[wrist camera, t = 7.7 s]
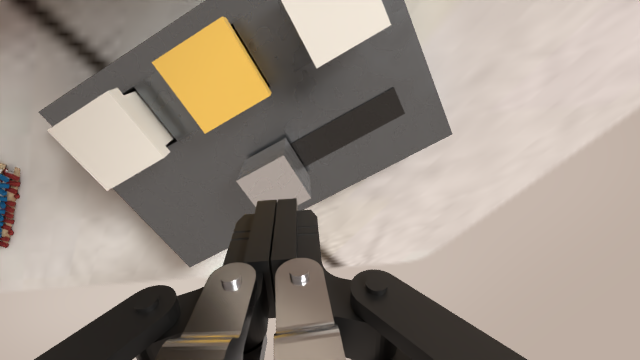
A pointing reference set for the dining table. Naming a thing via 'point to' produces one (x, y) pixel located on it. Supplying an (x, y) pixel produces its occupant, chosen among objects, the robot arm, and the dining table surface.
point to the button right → (335, 24)
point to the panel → (270, 118)
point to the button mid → (213, 75)
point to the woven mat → (7, 201)
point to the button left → (114, 137)
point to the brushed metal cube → (275, 175)
